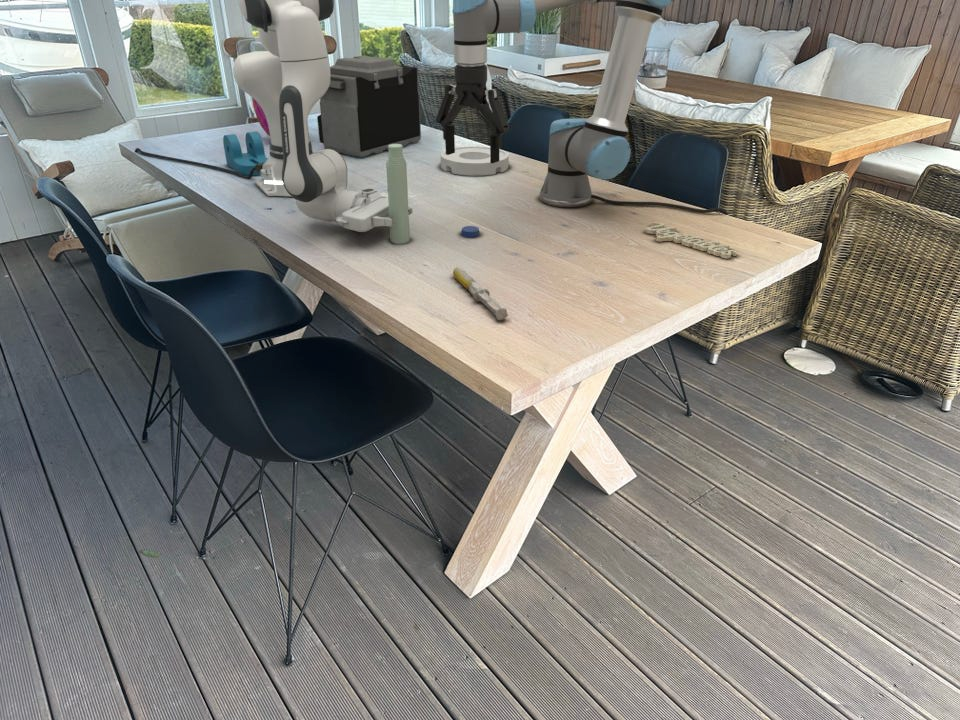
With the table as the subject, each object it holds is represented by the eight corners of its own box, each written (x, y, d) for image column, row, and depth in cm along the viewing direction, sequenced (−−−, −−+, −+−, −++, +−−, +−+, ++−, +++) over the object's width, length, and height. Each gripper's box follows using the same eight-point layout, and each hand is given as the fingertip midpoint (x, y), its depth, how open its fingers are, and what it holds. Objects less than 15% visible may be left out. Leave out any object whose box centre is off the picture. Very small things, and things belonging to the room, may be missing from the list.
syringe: (449, 274, 155) (449, 263, 153) (465, 272, 156) (464, 260, 154) (490, 323, 135) (491, 310, 133) (508, 319, 136) (508, 307, 134)
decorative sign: (632, 229, 179) (655, 221, 185) (631, 232, 179) (654, 224, 185) (722, 258, 162) (744, 248, 168) (721, 262, 162) (743, 252, 168)
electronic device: (383, 133, 276) (378, 52, 261) (425, 141, 265) (422, 56, 250) (314, 150, 251) (304, 61, 235) (358, 160, 240) (350, 67, 224)
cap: (457, 234, 178) (457, 228, 177) (471, 230, 180) (471, 224, 180) (469, 238, 175) (469, 233, 174) (482, 235, 177) (482, 229, 177)
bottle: (397, 235, 176) (392, 142, 164) (413, 239, 174) (409, 144, 162) (386, 241, 172) (381, 146, 161) (402, 245, 171) (398, 148, 159)
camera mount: (227, 164, 233) (221, 132, 227) (257, 160, 238) (252, 129, 233) (244, 176, 220) (239, 143, 215) (276, 172, 225) (271, 139, 220)
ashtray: (443, 157, 245) (443, 145, 243) (508, 158, 244) (508, 146, 242) (437, 174, 225) (437, 162, 223) (508, 176, 224) (508, 163, 222)
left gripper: (329, 208, 165) (379, 216, 160) (374, 186, 181) (421, 193, 176) (332, 233, 168) (380, 242, 163) (376, 209, 184) (421, 216, 179)
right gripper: (525, 66, 153) (523, 162, 164) (438, 58, 166) (442, 147, 177) (506, 70, 148) (505, 169, 159) (418, 61, 161) (423, 153, 172)
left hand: (402, 216), depth 170 cm, fingers open, 8 cm apart
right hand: (472, 157), depth 168 cm, fingers open, 13 cm apart
